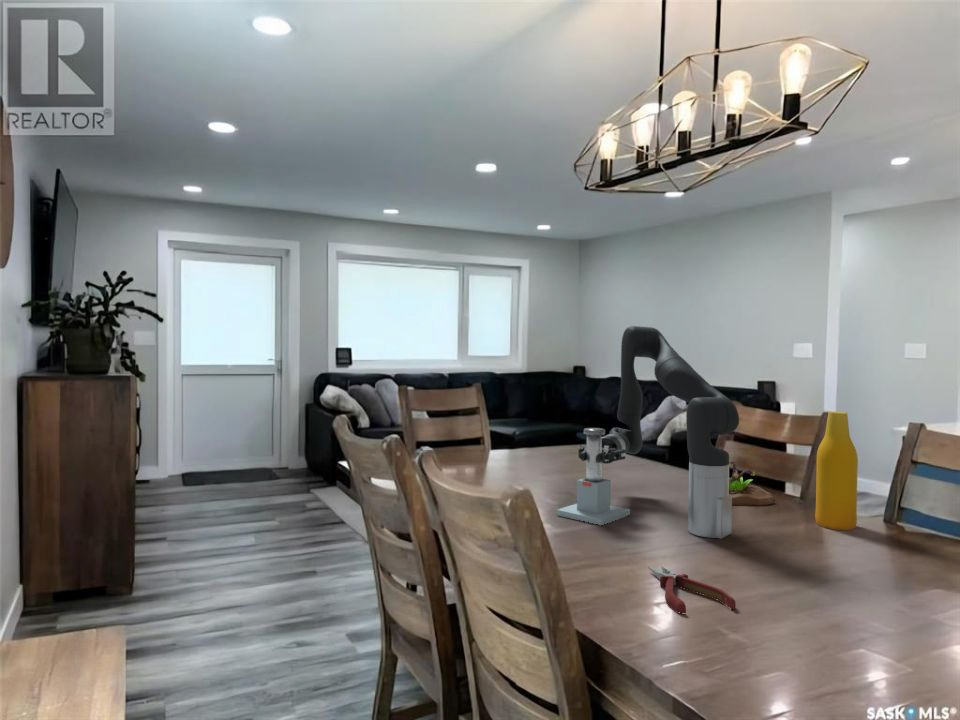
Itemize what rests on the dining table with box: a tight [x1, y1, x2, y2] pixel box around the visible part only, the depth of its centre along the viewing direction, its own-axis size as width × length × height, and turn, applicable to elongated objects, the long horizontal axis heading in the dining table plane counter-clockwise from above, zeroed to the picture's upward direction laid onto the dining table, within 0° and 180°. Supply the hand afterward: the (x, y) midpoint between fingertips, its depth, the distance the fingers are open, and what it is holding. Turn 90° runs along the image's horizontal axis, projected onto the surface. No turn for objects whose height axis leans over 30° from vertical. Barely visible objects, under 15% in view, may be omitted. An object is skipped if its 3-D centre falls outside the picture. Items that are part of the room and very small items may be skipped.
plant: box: [729, 459, 775, 506], centre depth 191 cm, size 20×20×11 cm
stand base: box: [556, 477, 631, 526], centre depth 170 cm, size 14×14×10 cm
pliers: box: [648, 566, 737, 613], centre depth 119 cm, size 12×20×3 cm, turn 11°
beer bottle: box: [814, 411, 859, 531], centre depth 161 cm, size 9×9×29 cm
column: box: [583, 427, 606, 483], centre depth 170 cm, size 6×6×21 cm
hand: (590, 457), depth 167 cm, fingers closed on column, 4 cm apart
